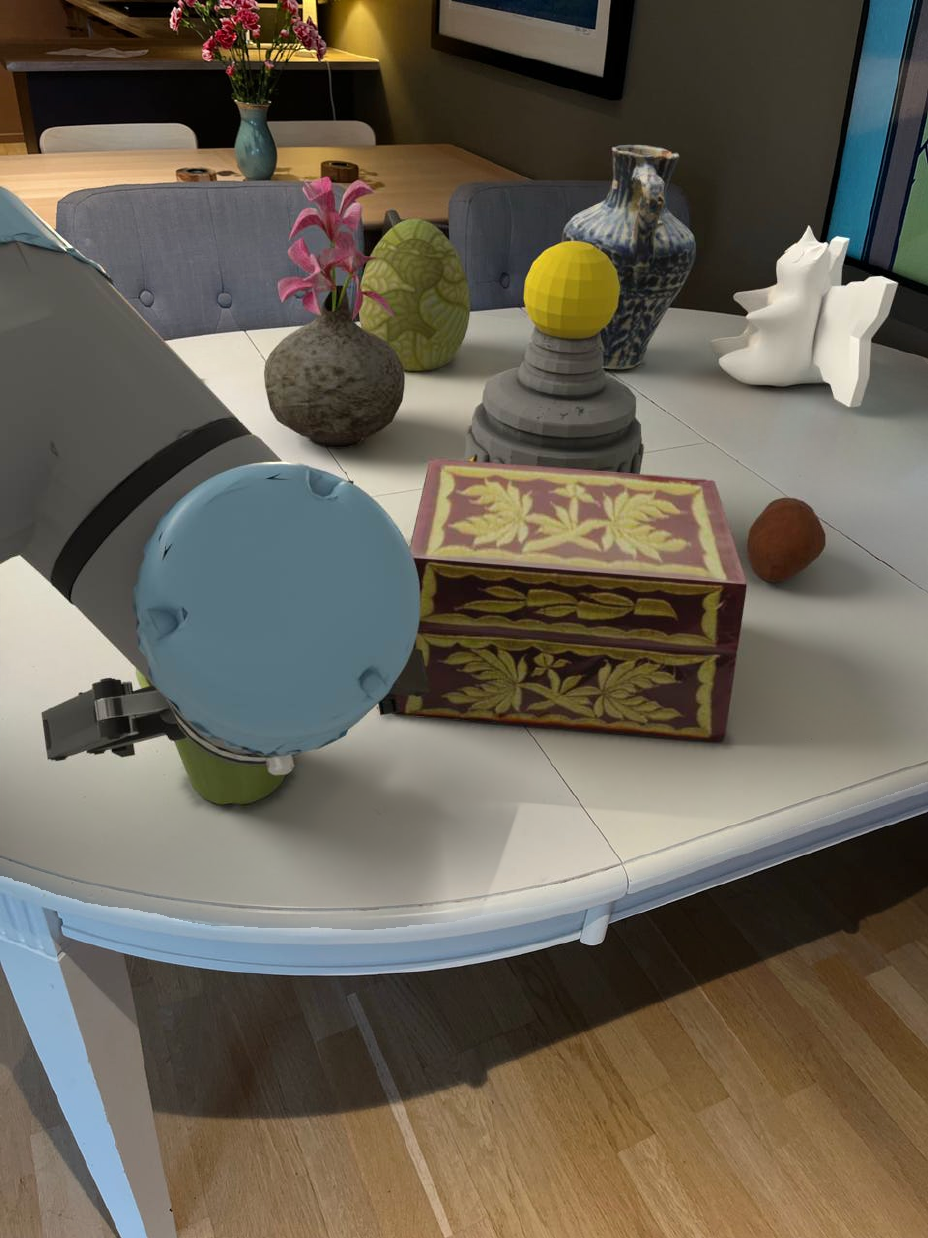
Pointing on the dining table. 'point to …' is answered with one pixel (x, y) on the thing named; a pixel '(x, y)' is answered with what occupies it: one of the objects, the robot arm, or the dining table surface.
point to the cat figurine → (809, 324)
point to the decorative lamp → (562, 376)
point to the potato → (784, 539)
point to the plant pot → (222, 773)
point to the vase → (332, 338)
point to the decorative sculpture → (417, 295)
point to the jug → (637, 248)
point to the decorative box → (576, 600)
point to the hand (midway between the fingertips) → (240, 714)
